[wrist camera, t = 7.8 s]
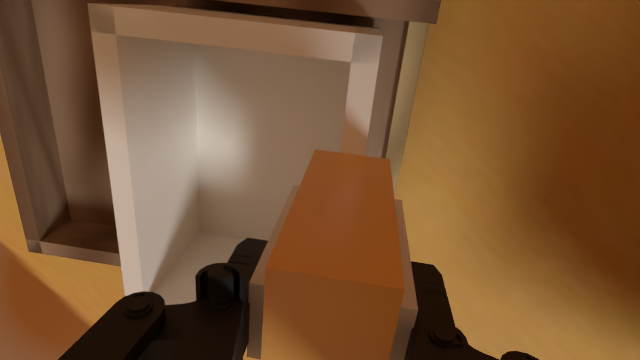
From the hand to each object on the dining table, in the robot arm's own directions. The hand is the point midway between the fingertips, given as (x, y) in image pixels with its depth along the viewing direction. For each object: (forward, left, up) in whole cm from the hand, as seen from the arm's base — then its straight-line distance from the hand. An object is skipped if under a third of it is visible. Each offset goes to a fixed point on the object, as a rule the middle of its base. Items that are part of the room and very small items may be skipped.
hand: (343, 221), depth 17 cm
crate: (+5, 0, -8) cm, 9 cm away
